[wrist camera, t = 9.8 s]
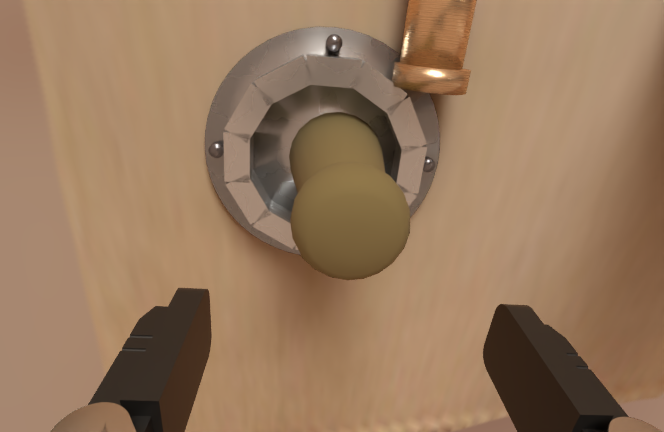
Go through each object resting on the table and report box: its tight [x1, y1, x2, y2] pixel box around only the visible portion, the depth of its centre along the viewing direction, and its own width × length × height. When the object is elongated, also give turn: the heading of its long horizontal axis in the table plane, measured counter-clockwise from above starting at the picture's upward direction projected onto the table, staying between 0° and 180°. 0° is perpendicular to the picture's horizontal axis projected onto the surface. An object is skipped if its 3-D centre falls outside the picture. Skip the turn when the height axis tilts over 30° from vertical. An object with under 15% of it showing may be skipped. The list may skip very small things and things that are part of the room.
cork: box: [289, 112, 410, 280], centre depth 21 cm, size 6×6×11 cm
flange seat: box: [205, 27, 440, 255], centre depth 25 cm, size 15×15×2 cm
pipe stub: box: [392, 0, 477, 95], centre depth 21 cm, size 8×4×4 cm, turn 176°
